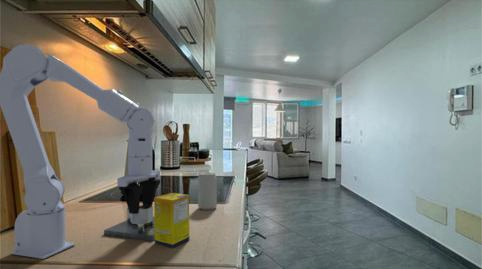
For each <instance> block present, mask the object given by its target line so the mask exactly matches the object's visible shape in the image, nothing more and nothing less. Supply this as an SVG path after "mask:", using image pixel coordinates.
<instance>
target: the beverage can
mask: <svg viewBox="0 0 482 269" xmlns="http://www.w3.org/2000/svg"><path fill="white" fill-rule="evenodd" d="M217 178H218V177H217V175H216V172H207V171H206V172H199V173H198V177H197V206H198V208H199V209H200V210H202V211H203V210H204V211H209V210H210V211H211V210H214V209H215V208H216V207H217V206H218V202H217V201H218V195H217V193H218V190H217V189H218V188H217V184H218V181H217Z"/></svg>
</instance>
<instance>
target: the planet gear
mask: <svg viewBox="0 0 482 269" xmlns="http://www.w3.org/2000/svg"><path fill="white" fill-rule="evenodd" d="M153 210H154V206H153V205H152V206H151V205H143V204H139V212H138V214H131V223H132V224H145V223H149V222H151V221H153V217H154V211H153Z"/></svg>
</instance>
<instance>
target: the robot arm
mask: <svg viewBox="0 0 482 269" xmlns="http://www.w3.org/2000/svg"><path fill="white" fill-rule="evenodd" d="M45 54H46V55H45ZM46 56H47V57H46ZM2 62H3V63H2V68H1V71H0V108H1V112H2V114H3V117H4V120H5V123H6V125H7V128H8V131H9V134H10V137H11V139H12V143H13V145H14V148H15V151H16V154H17V156H18V159H19V162H20V164H21V167H22V170H23V184H24V187H25V193H24V199H23V201H24V204H25V207H27V208H26V209H25V210H23V211H22V212H20V213H19V214H18V215H17V217H16V219H15V221H14V250H11V251H10V254H11V255H15V256H21V257H22V256H23V257H28V258H29V257H30V258H34V259H41V260H42V259H43V260H44V259H47V258H49V257H51V256H53V255H56V254H58V253H60V252H62V251H64V250H66V249H70V248H72V247H73V246H75V245H76V244H75V242H71V241H66V205H65V204H64V203H63V202H62V201H61V199H62V198H63V197H64V194H65V191H66V190H65V188H66V187H65V185H64V183H63V182H62V180H60V179H59V178H58V177H57V175H56V172H55V170H54V169H53V167H52V165H51V164H50V161H49V158H48V154H47V152H46V149H45V146H44V143H43V141H42V140H43V139H42V137H41V135H40V132H39V128H38V126H37V123H36V119H35V117H34V113H33V111H32V108H31V105H30V102H29V99H28V96H29V94H31V92H32V91H33V90H34V89H35V88H36V86H38V85H40V84H41V83H44V82H45V81H46V80H48V79H49V81H50V82H54V83H57V82H59V83H65V84H68V85H69V86H71V87H72V88H74V89H75V90H78V91H80V92H81V93H83V94H85V95H86V96H88V97H90V98H91V99H93V100H95V101H96V104H97V108H98V109H99V110H101V111H103V112H104V113H105V114H107V115H109V116H110V117H112V118H114V119H116V120H117V121H119V122H120V123H122V124H123V123H126V126H127V127H128V134H129V135H128V138H127V141H128V143H127V144H128V145H127V153H128V154H127V155H128V156H127V158H128V159H127V160H128V164H127V166H128V167H127V168H128V170H127V171H128V174H124V175H123V176H120V177H117V181H116V182H117V183H116V184H117V187H118V189H119V191H120V192H121V194H122V196H123V197H124V199H125V203H126V206H127V208H128V209H129V213H130V214H138V212H139V205H141V204H140V201H142V205H151V206H152V207H153V203H154V197H156V192H157V190H158V188H159V186H160V185H161V179H160V178H161V170H158V169H156V170H155V169H153V137H152V134H153V132H152V129H153V127H154V124H155V119H154V116H153V114H152V113H151V112H150V110H149V109H147V108H143V107H140V106H141V104H140V103H138V102H134V101H133V100H131V99H129V98H128V97H127V96H125V95H123V94H124V92H123V91H122V90H120V89H118V90H115V89H114V88H109V89H104V88H102V87H101V86H99V85H98V84H96V82H94V81H92V80H90V79H89V78H88V77H87V76H85V75H84V74H82V73H80V72H79V71H78V70H76V69H74V68H73V67H72V66H71V65H69V64H67V63H66V62H64V61H62V60H61V59H59V58H57V57H56V56H54V55H53V54H49V53H48V52H45V53H44V52H43V51H42V49H40V48H39V47H37V46H36V45H33V44H27V43H26V44H19V45H16V46H15V47H13V48H12V49H10V51H9V52H8V53H7V54H6V55H4V57H3V60H2ZM138 184H139V185H138ZM141 198H142V200H141Z"/></svg>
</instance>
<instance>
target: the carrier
mask: <svg viewBox="0 0 482 269" xmlns="http://www.w3.org/2000/svg"><path fill="white" fill-rule="evenodd" d="M103 235H104V236H111V237H117V238H118V237H119V238H128V239H136V240H144V241H145V240H146V241H154V242H155V216H153V221H151V222H149V223H145V224H132V223H131V214H130V213H129V209H128V207H127V208H126V220H124V221H122V222H120V223H117V224H115V225H113V226H110V227H108V228H105V229H104V230H103Z"/></svg>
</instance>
